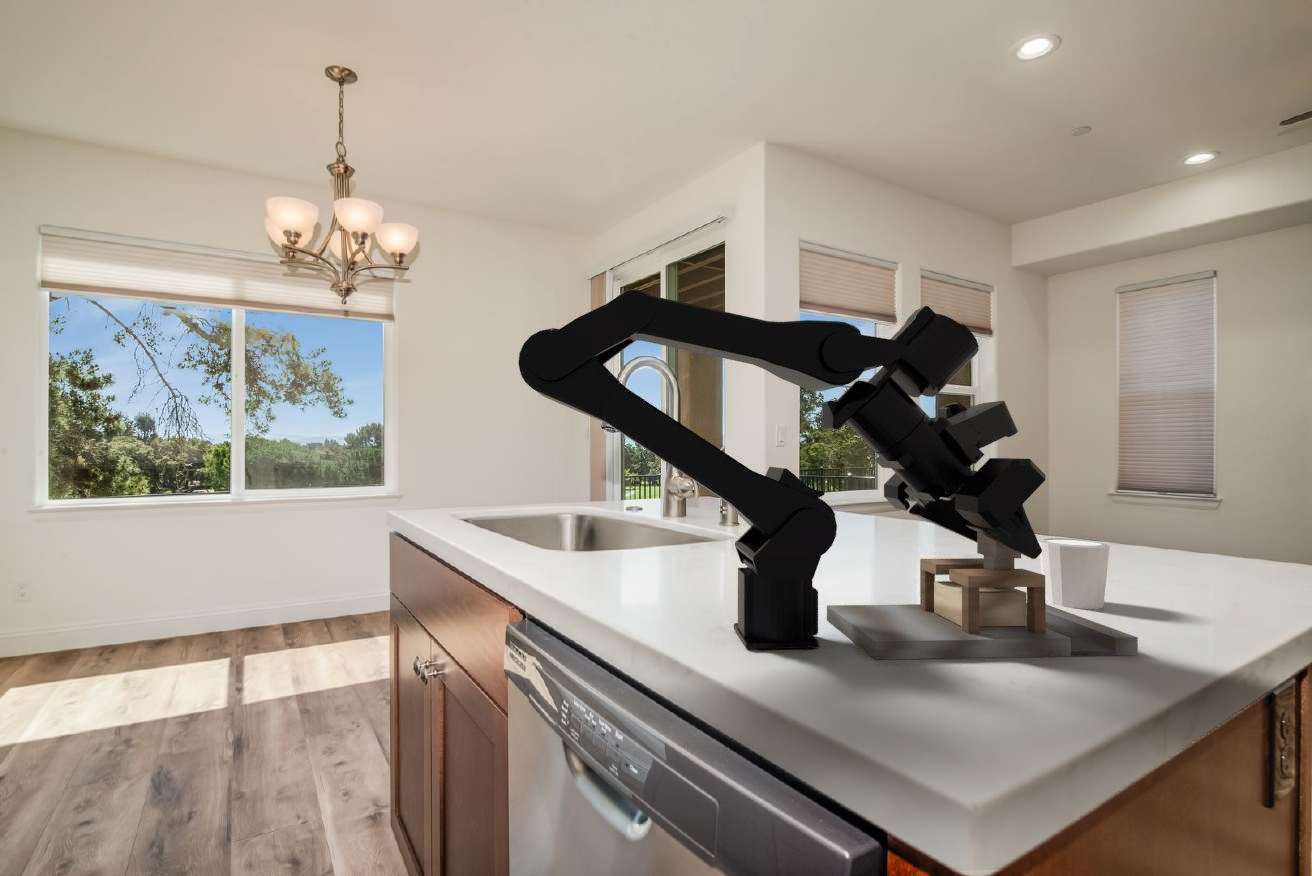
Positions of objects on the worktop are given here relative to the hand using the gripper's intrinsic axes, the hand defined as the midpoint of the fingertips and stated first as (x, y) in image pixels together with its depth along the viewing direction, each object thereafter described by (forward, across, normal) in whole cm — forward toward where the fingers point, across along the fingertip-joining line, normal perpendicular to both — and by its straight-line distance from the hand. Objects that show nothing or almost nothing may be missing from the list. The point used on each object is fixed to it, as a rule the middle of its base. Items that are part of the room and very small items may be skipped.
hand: (1012, 549), depth 59 cm
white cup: (+17, +12, -5) cm, 21 cm away
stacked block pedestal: (+2, 0, +7) cm, 7 cm away
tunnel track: (+2, 0, +9) cm, 9 cm away
